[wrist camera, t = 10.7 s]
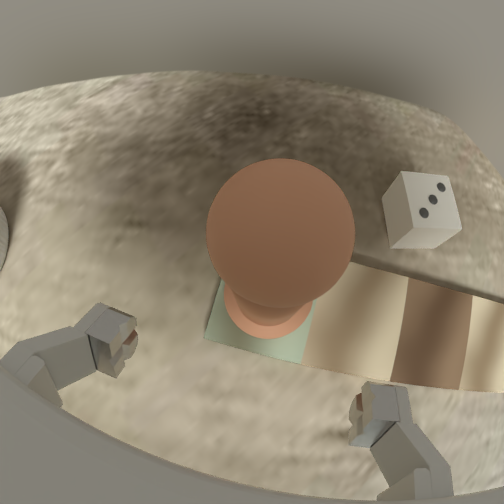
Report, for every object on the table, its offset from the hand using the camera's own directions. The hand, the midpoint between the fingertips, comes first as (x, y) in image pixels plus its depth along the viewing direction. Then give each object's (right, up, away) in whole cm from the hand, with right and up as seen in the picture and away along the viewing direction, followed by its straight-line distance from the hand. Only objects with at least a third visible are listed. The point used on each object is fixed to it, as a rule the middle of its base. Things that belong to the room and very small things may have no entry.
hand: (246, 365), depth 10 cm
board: (+10, -1, +9) cm, 13 cm away
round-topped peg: (+1, +1, +9) cm, 9 cm away
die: (+12, +6, +11) cm, 17 cm away
